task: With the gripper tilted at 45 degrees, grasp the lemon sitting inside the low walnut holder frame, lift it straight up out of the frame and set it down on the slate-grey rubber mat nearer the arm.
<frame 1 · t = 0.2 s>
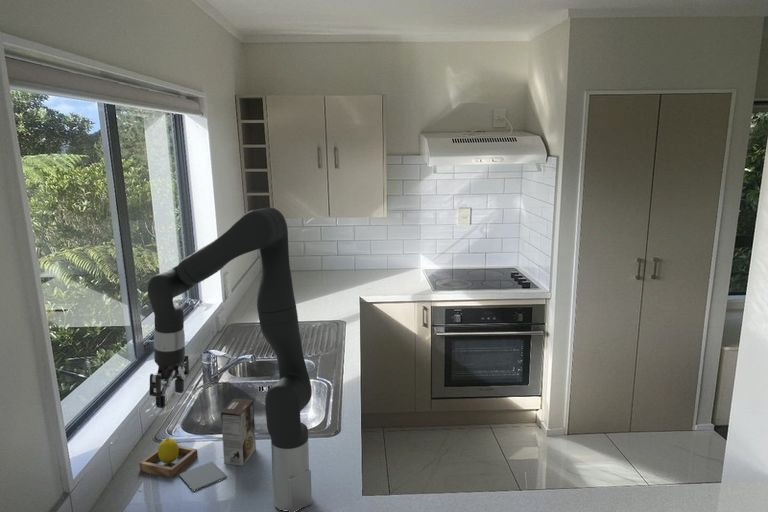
hand: (170, 399, 145), 22 cm above the worktop, tool pointing down, fingers open, 8 cm apart
coffee box: (240, 456, 158), on the worktop
lemon: (169, 464, 155), resting in holder
holder: (169, 463, 154), on the worktop
mat: (203, 476, 148), on the worktop
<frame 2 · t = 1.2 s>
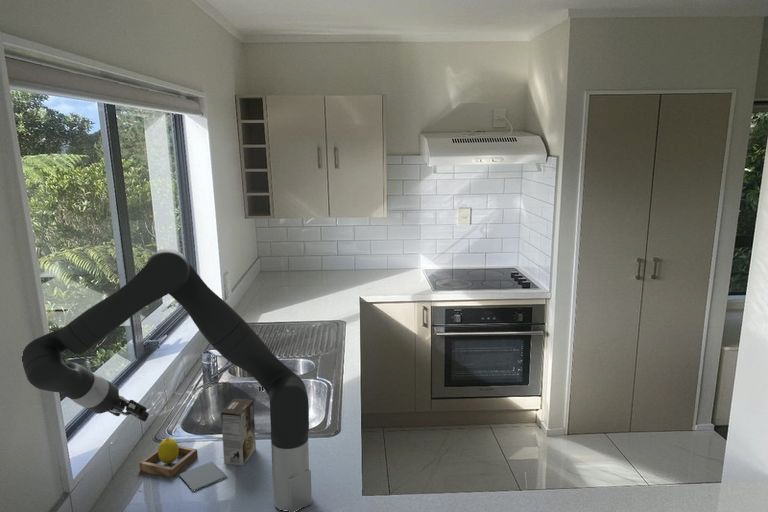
hand: (132, 415, 140), 21 cm above the worktop, tool tilted 45°, fingers open, 8 cm apart
nothing on the worktop moved.
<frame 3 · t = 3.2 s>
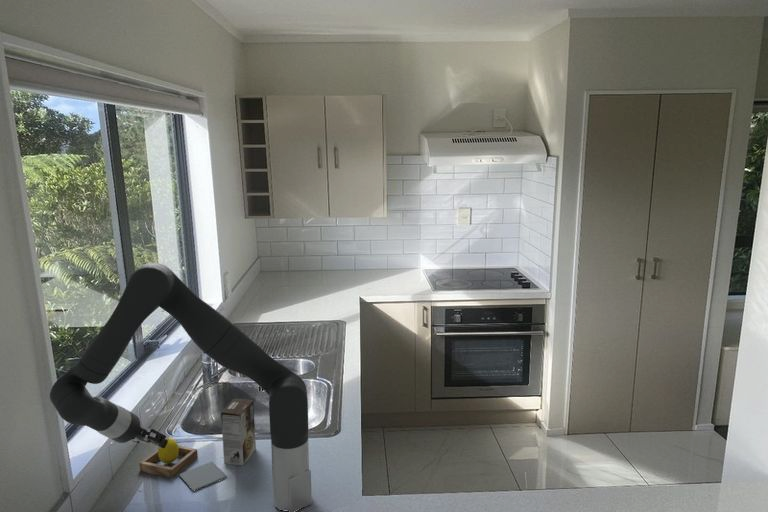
hand: (152, 441, 147), 10 cm above the worktop, tool tilted 45°, fingers open, 8 cm apart
nothing on the worktop moved.
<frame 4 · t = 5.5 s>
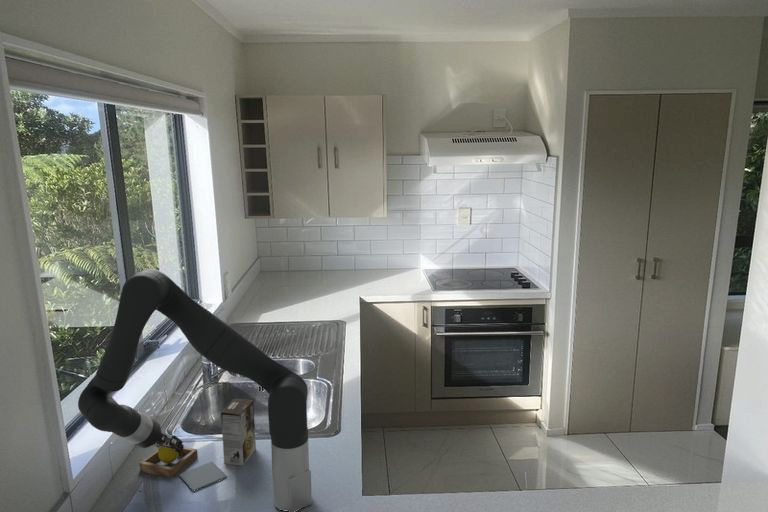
hand: (172, 447, 155), 4 cm above the worktop, tool tilted 45°, fingers closed on lemon, 5 cm apart
lemon: (169, 464, 155), resting in holder, touching gripper
everything else where it was.
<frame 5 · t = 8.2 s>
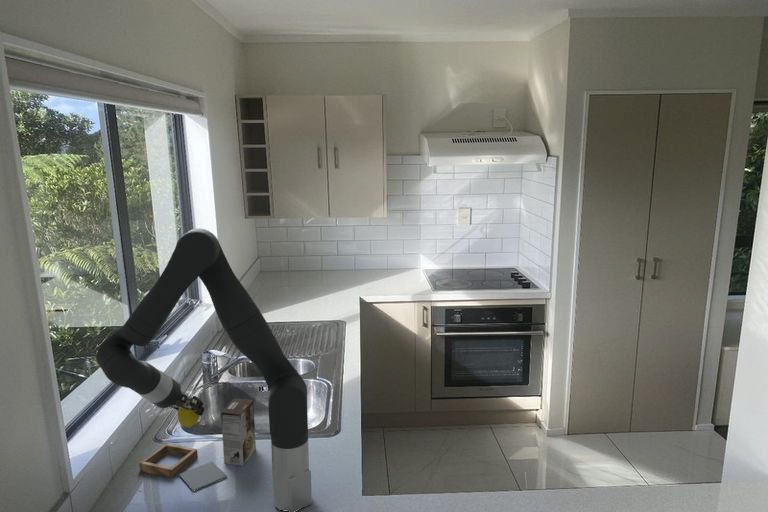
hand: (192, 410, 149), 18 cm above the worktop, tool tilted 45°, fingers closed on lemon, 5 cm apart
lemon: (189, 428, 148), point 13 cm above the worktop, touching gripper
everything else where it was.
when the fingers open (6 cm above the worktop, at t = 11.3 s): lemon drops 1 cm, resting on mat.
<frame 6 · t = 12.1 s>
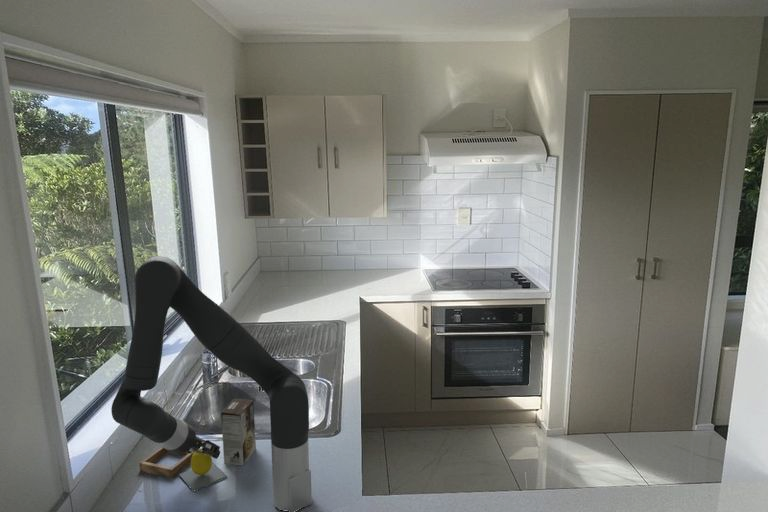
hand: (204, 452, 148), 7 cm above the worktop, tool tilted 45°, fingers open, 8 cm apart
lemon: (202, 476, 148), resting on mat
everything else where it was.
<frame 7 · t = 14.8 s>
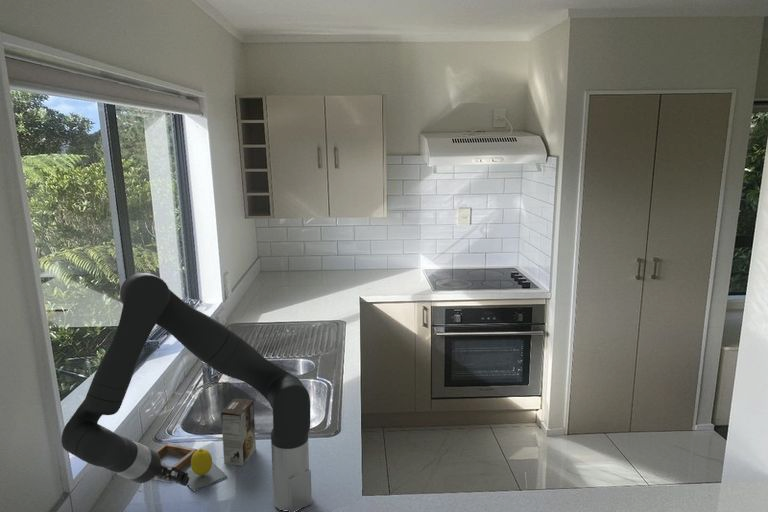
hand: (172, 478, 136), 7 cm above the worktop, tool tilted 45°, fingers open, 8 cm apart
nothing on the worktop moved.
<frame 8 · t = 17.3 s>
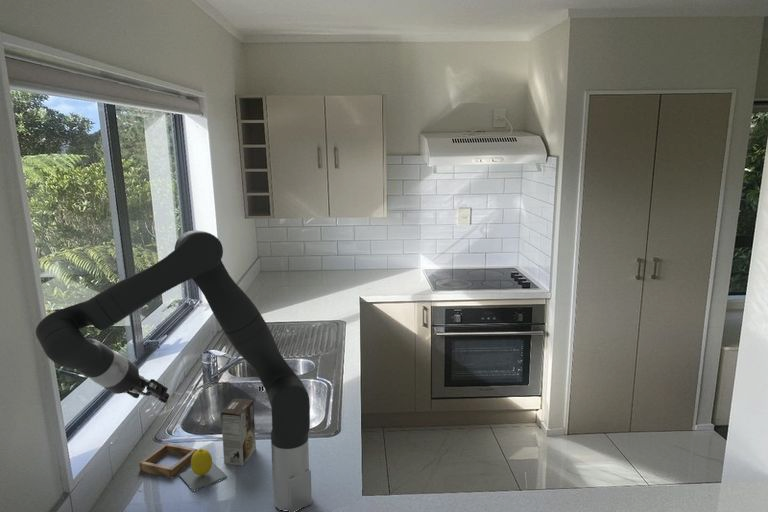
hand: (152, 396, 133), 29 cm above the worktop, tool tilted 45°, fingers open, 8 cm apart
nothing on the worktop moved.
at the end: lemon inside the target area on the mat (0.2 cm from its centre), point 0.3 cm above the mat's base; lemon touching mat; the gripper is holding nothing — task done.
